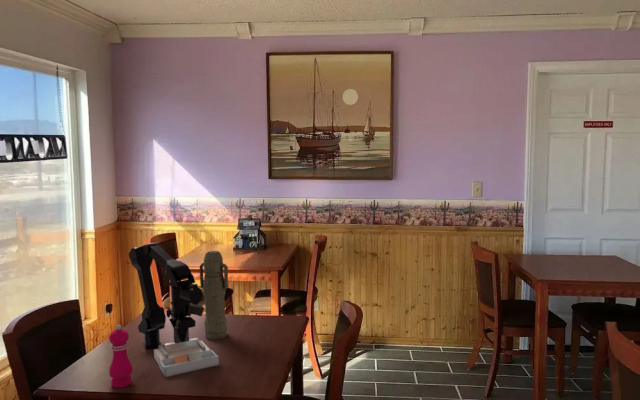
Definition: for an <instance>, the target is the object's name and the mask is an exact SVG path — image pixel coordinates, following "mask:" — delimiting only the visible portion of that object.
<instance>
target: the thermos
mask: <svg viewBox="0 0 640 400" xmlns="http://www.w3.org/2000/svg"><path fill="white" fill-rule="evenodd" d="M223 262H224V259H223V256H222V253H221V252H220V251H218V250H214V251H213V250H210V251H207V252H206V253H205V255H204V259H203V262H201V264H200V265H199V283H200V284H199V285H200V289H202V292H203V297H204V306H205V307H204V310H205V318H204V333H205V339H207V340H212V341H213V340H214V341H216V340H222V339H225V338H226V337H227V331H228V325H227V323H228V321H227V317H226V304H225V301H226V300H225V296H226V290H227V289H228V288H229V267H228V265H227V264H226V263H223Z"/></svg>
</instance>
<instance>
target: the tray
mask: <svg viewBox="0 0 640 400" xmlns="http://www.w3.org/2000/svg"><path fill="white" fill-rule="evenodd" d="M201 356H202V359H198V360H193V361H189V360H188V362H184V363H179V364H174V360H173V359H171V360H166V361H161V360H159V364H158V367H159V370H160V372H161V373H162V375H163V377H164V378H167V377H171V376H177V375H180V374H185V373H189V372H195V371H199V370H203V369H208V368H212V367H218V366H219V365H220V357H219V355H217V354H216V353H215V351H214V350H213V349H210V352H205V353H201ZM187 359H188V357H187Z"/></svg>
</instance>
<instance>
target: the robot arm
mask: <svg viewBox="0 0 640 400" xmlns="http://www.w3.org/2000/svg"><path fill="white" fill-rule="evenodd" d="M128 259H129V260H130V263H131V265H132V267H133V268H134V269H135V270H136V271H137V276H138V280H139V281H138V282H139V287H140V290H141V291H140V292H141V295H142V300H143V310H142V313H141V321H140V323H139V324H138V326H137V329H138V332H139V333H141V334H144V335H143V337H144V342H142V346H143V348H144V349H145V350H149V349H154V348H155V349H156V348H158V345H162V346H163V343H162V342H161V338H160V337H161V336H160V330H163V329H165V327H166V320H167V318H168V321H169V322H170V324H171V326H172V328H173V330H174V329H175V328H176V331H177V333H178V335H179V338H180V340H181V342H185V338H186V334H187V330H188V328H189V329H190V328H191V329H192V328H195V327H196V320H195V319H194V318H193V317H191V316H192V315H195V316H198V317H202V316H203V313H204V310H205V307H204V306H203V305H201V304H199V303H200V302H201V301H202V299H203V297H204V292H203V289H202V288H201V287H198V285H199V284H198V283H196V280H195V276H194V275H193V273H192V271H191V269H190V267H189V266H188V265H187V264H186V263H185V262H183V261H181V260H177V259H175V258H173V257H172V256H171V255H170V254H168V253H167V252H166V251H165V250H164V249H163V248H162V247H161V246H160V244H159V243H158V242H150V243H149V242H148V243H145V244H144V245H142V246H138V247H137V246H136V247H132V248H131V249H130V251H129V252H128ZM154 261H155V262H156V263H157V264H158V265H159V266H160V267H161V268H162V269H163V270H164V274H165V276H166V278H167V279H168V280H169V282H168V283H167V286H169V287H170V290H171V291H170V294H171V295H170V296H171V300H170V305H171V307H170V308H168V309H167V310H166V312H165V308H164V307H163V306H160V305H159V303H158V299H157V294H156V291H155V290H156V289H155V284H154V281H153V274H152V269H151V267H152V264H153V262H154ZM166 317H167V318H166Z"/></svg>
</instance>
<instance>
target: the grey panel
mask: <svg viewBox="0 0 640 400" xmlns="http://www.w3.org/2000/svg"><path fill="white" fill-rule="evenodd" d="M189 331H190V328H188V330H187V334H186V338H185V342H181V340H180V338H179V335H178V333H177V331H176V328H175V329H174V328H173V341H171V342H167V343H164V348H165V351H166V352H167V353H171V352H176V351H181V350H186V349H191V348H196V347H199V341H198V339H199V338H198V337H194V338H190V333H189Z"/></svg>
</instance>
